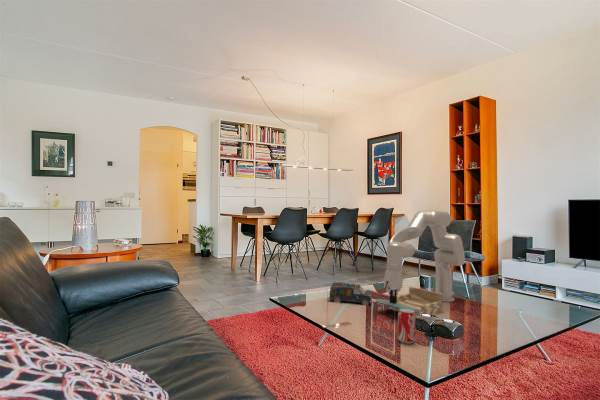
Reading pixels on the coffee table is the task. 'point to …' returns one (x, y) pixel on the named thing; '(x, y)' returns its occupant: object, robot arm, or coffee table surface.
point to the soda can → (406, 325)
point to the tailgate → (396, 305)
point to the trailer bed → (421, 301)
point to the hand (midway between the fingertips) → (393, 302)
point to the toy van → (349, 293)
